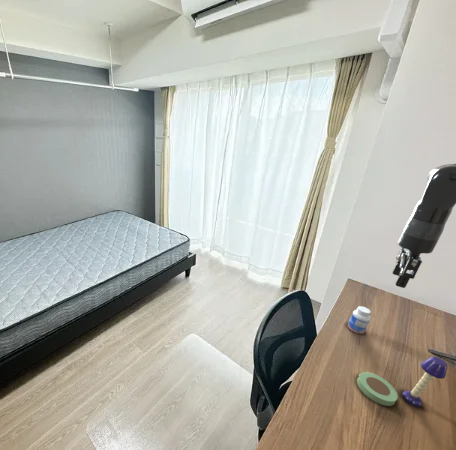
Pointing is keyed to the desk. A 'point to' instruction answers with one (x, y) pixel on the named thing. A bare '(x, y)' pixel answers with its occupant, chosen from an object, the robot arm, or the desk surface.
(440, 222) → the robot arm
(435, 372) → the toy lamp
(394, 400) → the coaster
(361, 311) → the pill bottle
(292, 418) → the desk surface
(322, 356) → the desk surface
